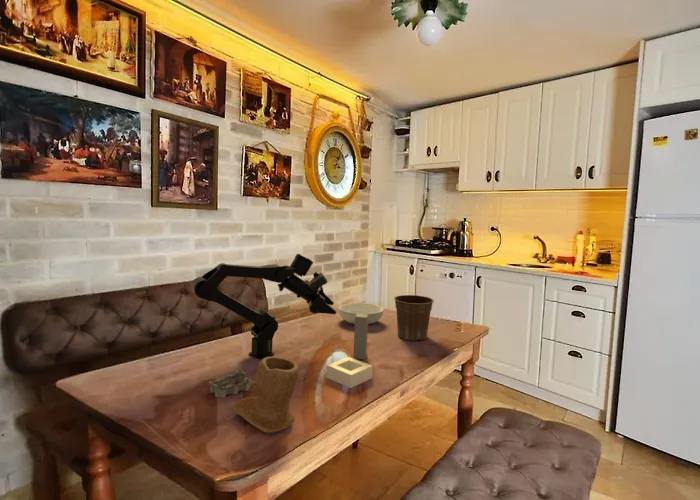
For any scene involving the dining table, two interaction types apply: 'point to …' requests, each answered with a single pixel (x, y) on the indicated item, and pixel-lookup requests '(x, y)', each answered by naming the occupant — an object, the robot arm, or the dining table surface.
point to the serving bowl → (360, 312)
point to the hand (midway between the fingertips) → (334, 308)
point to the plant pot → (413, 316)
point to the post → (360, 336)
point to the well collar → (349, 372)
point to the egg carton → (230, 384)
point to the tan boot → (271, 395)
